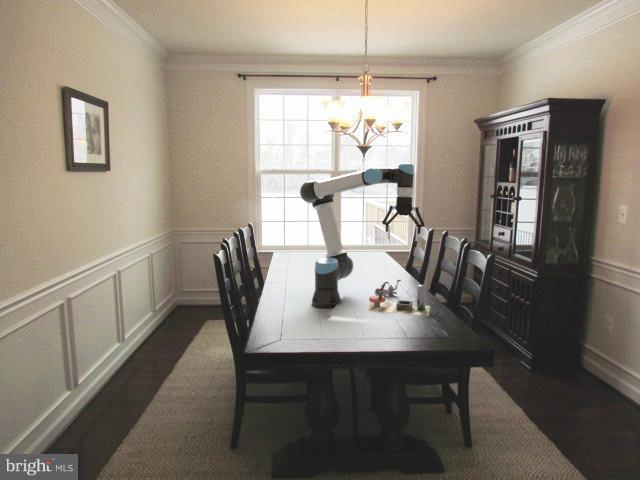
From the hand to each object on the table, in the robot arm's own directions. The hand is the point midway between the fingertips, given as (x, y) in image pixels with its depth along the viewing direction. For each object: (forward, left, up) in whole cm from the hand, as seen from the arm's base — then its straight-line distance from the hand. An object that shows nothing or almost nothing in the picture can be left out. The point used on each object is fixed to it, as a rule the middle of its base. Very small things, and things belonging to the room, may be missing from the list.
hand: (402, 239), depth 222 cm
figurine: (-9, +16, -35) cm, 39 cm away
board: (-1, -5, -35) cm, 35 cm away
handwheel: (-11, -5, -33) cm, 35 cm away
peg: (+10, -5, -33) cm, 35 cm away
